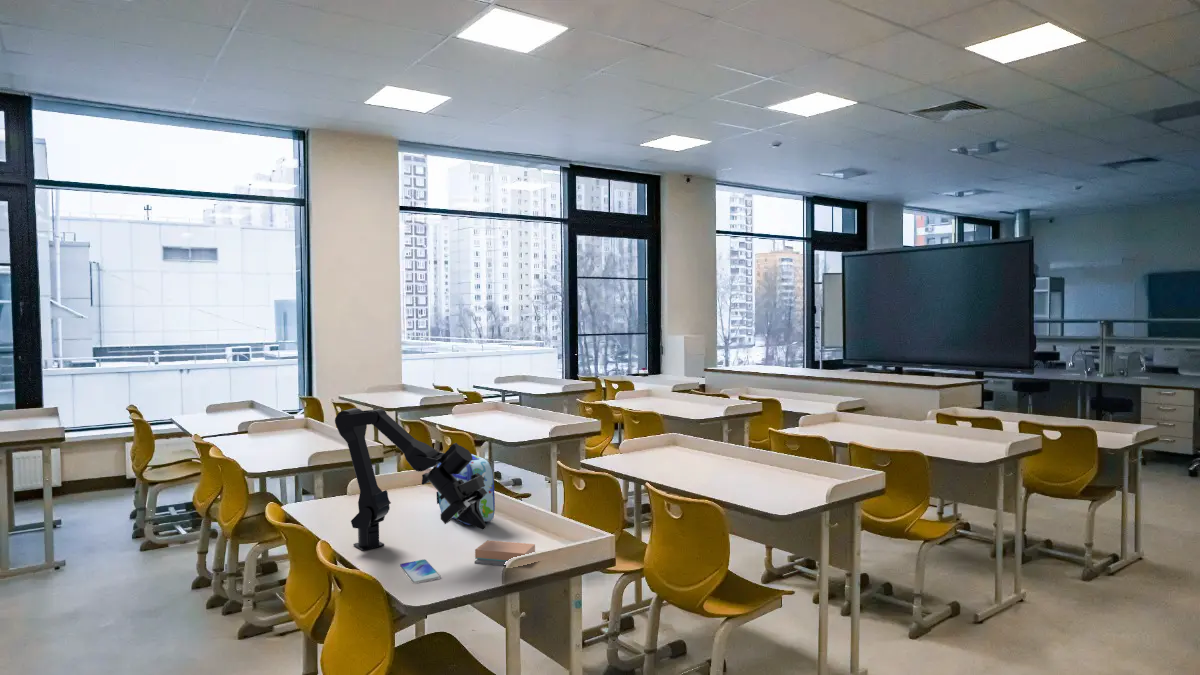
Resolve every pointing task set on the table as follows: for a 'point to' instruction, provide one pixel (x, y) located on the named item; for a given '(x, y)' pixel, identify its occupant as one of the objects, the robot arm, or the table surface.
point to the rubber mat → (490, 562)
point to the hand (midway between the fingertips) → (484, 528)
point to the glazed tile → (502, 550)
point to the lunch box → (488, 500)
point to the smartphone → (420, 571)
